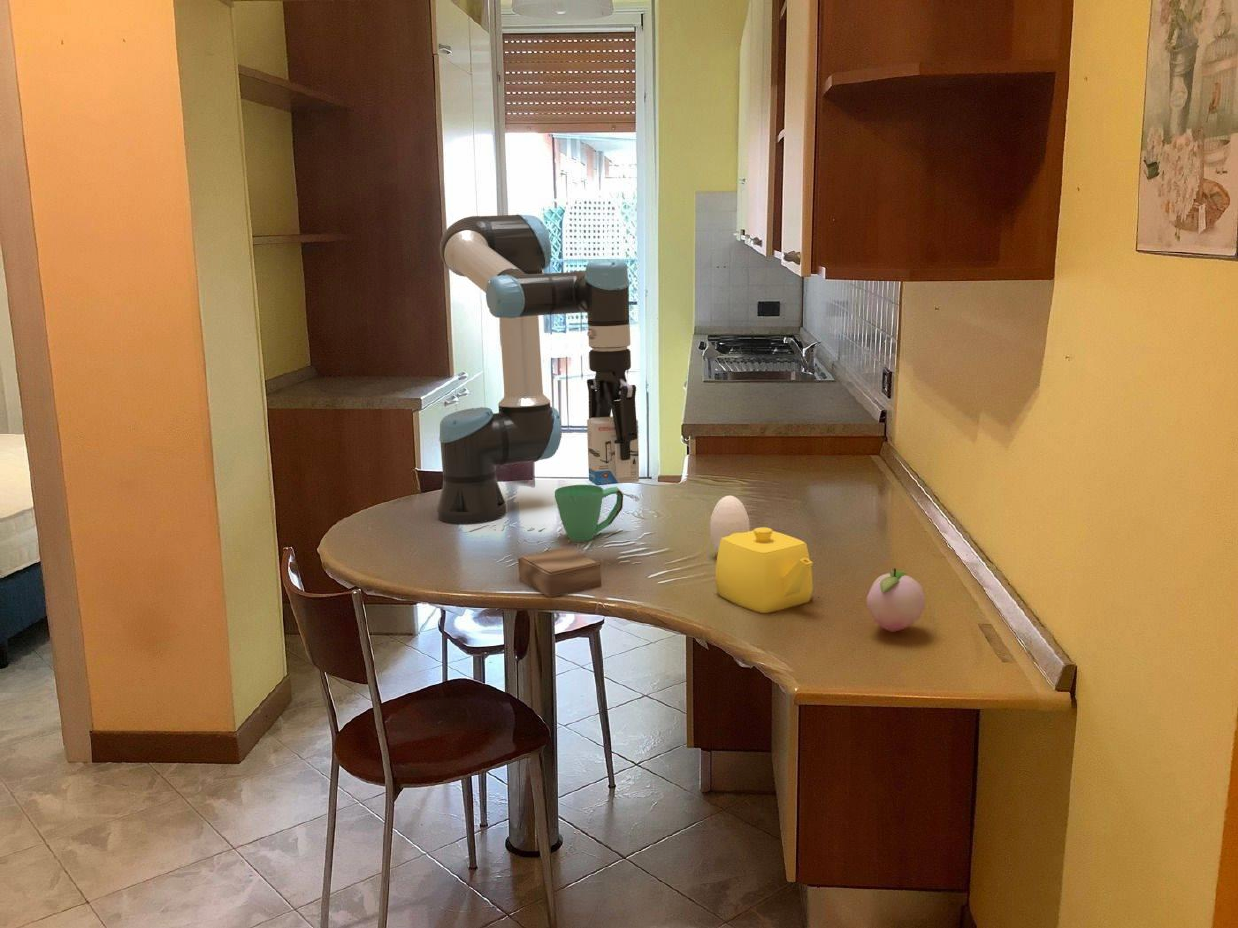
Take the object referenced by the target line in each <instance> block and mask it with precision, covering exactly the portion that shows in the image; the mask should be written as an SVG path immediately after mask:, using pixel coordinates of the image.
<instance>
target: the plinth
mask: <svg viewBox="0 0 1238 928" xmlns="http://www.w3.org/2000/svg"><path fill="white" fill-rule="evenodd" d="M517 562H518V576H519V580H520V581H521V582H522V583H525V584H527V586H530V587H531V588H533V589H535V590H536V591H538V592H540V593H542V594H543V595H545V596H547V597H549V598H550V599H551V598H555V597H559V596H565V595H569V594H573V593H577V592H581V591H582V592H583V591H586V590H590V589H595V588H598V587H602V576H601V575H602V573H601V572H602V571H601V563H599V562H598V561H596V560H593V559H592V558H589V557H587V556H585V555H583V554H581V553H579V552H577V551H576V550H575V551H574V550H573V549H571V548H569V547H562V548H557V549H553V550H552V549H551V550H548V551H547V550H546V551H542V552H538V553H533V554H532V553H531V554H528V555H522V556H520V557H518V558H517Z"/></svg>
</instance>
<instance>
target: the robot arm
mask: <svg viewBox="0 0 1238 928" xmlns="http://www.w3.org/2000/svg"><path fill="white" fill-rule="evenodd" d="M440 239H441V240H440V243H439V254H440V258H441V260H442V262H443V264H444V265H445V267H446V268H447V269H448V270H449V271H451V272H452V273H453V274H455V275H457V276H460V277H465V278H467V279H468V280H470V282H472V283H473V284H474V285H476V286H477V287H478V288H479V289H480V290H482V291H483V292H484V293H485V300H486V304H487V308H488V310H489V313H490V314H491V315H492V316H493V317H494V318H499V331H500V332H499V333H500V345H501V346H500V347H501V362H502V363H501V364H502V379H503V390H504V391H503V392H504V394H503V398H501V400H499V402H498V404H497V405H498V412H497V413H494V412H493V410H492V409H491V408H489V407H483V406H482V407H474V408H473V407H472V408H466V409H461V410H458V411H457V410H456V411H455V412H452V413H449V414H447V415H445V416H444V417H443V418H442V419H441V420H440V423H439V442H440V443H439V444H440V452H441V453H440V455H441V467H442V468H441V469H442V478H443V480H442V481H443V482H442V489H441V491H440V495H439V500H438V504H437V519H438V520H439V521H442V522H445V523H450V524H462V525H463V524H466V525H467V524H468V525H469V524H479V523H480V524H481V523H486V522H491V521H495V520H499V519H500V518H503V517H504V516H506V515H507V503H506V500H505V498H504V495H503V493H502V492H503V491H502V490H501V487H500V485H499V483H498V479H497V469H496V468H497V467H498V466H506V465H514V464H520V463H521V464H522V463H528V462H533V463H536V462H539V461H542V460H547V459H550V458H552V457H553V456H555V454H556V453H557V451H558V449H559V447H560V444H561V439H562V429H563V428H562V427H563V426H562V420H561V419H560V416H561V415H560V412H559V411H558V409H556V408H555V407H553V406H551V400H550V399H549V398H548V397H547V396H546V395H545V394H544V390H543V388H544V387H543V372H542V371H543V370H542V357H541V355H542V354H541V339H540V338H541V337H540V323H539V321H540V320H539V316H550V315H564V314H567V315H568V314H579V313H580V314H582V313H586V314H587V316H586V317H587V327H588V328H587V333H586V334H587V337H588V347H589V348H591V349H590V350H589V351H588V365H589V366H588V367H589V370H590V371H591V372H595V376H594V378H588V379H587V380H586V384H587V386H586V387H587V390H588V419H590V418H597V417H612V416H613V420H614V425H615V431H616V436H617V440H615V441H614V443H615V467H616V478H624V477H630V476H631V471H630V442H631V441H632V440H635V439H637V422H636V419H637V409H636V408H637V407H636V393H637V386H636V385H635V384H629V383H628V382H627V381H628V380H627V376H626V372H627V371H629V370H630V369H631V368H632V360H631V359H632V358H631V357H632V355H631V350H630V349H629V348H628V347H630V346H631V325H630V324H631V323H630V290H629V289H630V288H629V287H630V280H629V274H628V273H629V272H628V266H627V263H626V262H625V261H623V260H604V261H603V260H602V261H601V260H598V261H597V260H596V261H590V262H588V263H587V264H586V265H585V270H572V271H567V272H552V273H551V272H550V273H549V272H548V273H544V270H546V269H547V268H549V266H550V265H551V262H552V259H551V258H552V244H551V240H550V236H549V232H548V230H547V228H546V226H545V224H544V223H543V221H542V220H541V219H540V218H539V217H538V216H535V215H530V214H529V215H528V214H506V215H505V214H503V215H501V214H500V215H481V216H480V215H472V216H467V217H463V218H461V219H459V220H457V221H455V222H454V223H452V224H451V225H449V227H448V228H447V229H446V230H445V231H444V234H442V236H441V238H440Z"/></svg>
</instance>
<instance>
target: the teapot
mask: <svg viewBox="0 0 1238 928" xmlns="http://www.w3.org/2000/svg"><path fill="white" fill-rule="evenodd" d="M813 564H814V562H813V561H811V559H810V555H809V550H808V545H807V543H806V542H805V541H803V540H801V539H798V538H796V537H793V536H790V535H788V534H784V533H782V532H778V531H774V530H773V529H772V528H770V527H765V526H764V527H756V528H754V529H753V530H750V531H749V532H744V533H734V534H731V535H730V536H727V537H723V538H722V539H721V541H720V546H719V551H717V557H716V564H715V586H716V591H717V594H718V595H719V596H720V597H721V598H723V599H725V600H727V601H729V602H731V603H733V604H734V605H737V606H739V607H742V608H745V609H748V610H750V611H753V612H756V613H760V614H768V613H769V614H771V613H773V612H777V611H781V610H784V609H785V610H786V609H788V608H792V607H796V606H799V605H802V604H805V603H808V602H810V600H811V597H812V594H813V587H814V586H813V573H812V572H813V571H812V567H813Z"/></svg>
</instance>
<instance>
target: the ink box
mask: <svg viewBox="0 0 1238 928" xmlns="http://www.w3.org/2000/svg"><path fill="white" fill-rule="evenodd" d="M636 422H637V439H635V440H632V441H631V442H630V471H631V476H630V477H624V478H616V467H615V443H614V441H615V440H617V436H616V431H615V425H614V420H613V415H611V416H610V417H597V418H590V419H589V418H588V419H587V420H586V423H587V426H586V430H587V433H586V434H587V462H588V480H589V481H590V482H591V483H592V484H594V485H595V486H607V485H617V484H627V483H636V482H637V483H638V482H640V461H639V460H640V455H639V451H640V450H639V420H638V419H637V418H636Z"/></svg>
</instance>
